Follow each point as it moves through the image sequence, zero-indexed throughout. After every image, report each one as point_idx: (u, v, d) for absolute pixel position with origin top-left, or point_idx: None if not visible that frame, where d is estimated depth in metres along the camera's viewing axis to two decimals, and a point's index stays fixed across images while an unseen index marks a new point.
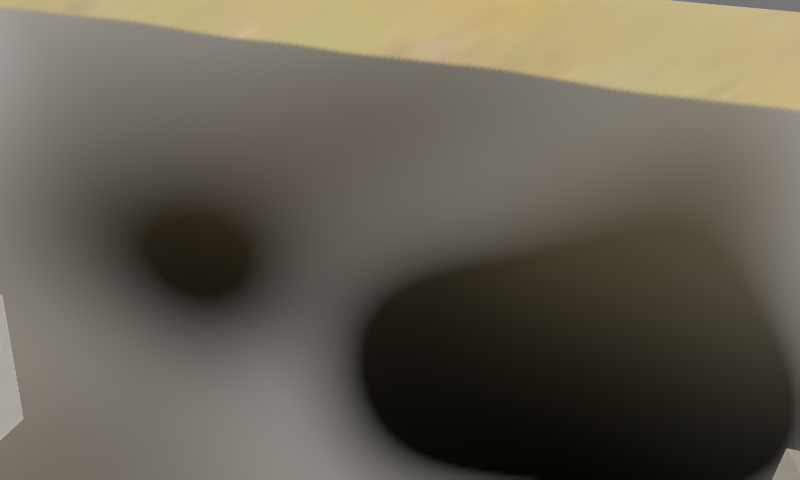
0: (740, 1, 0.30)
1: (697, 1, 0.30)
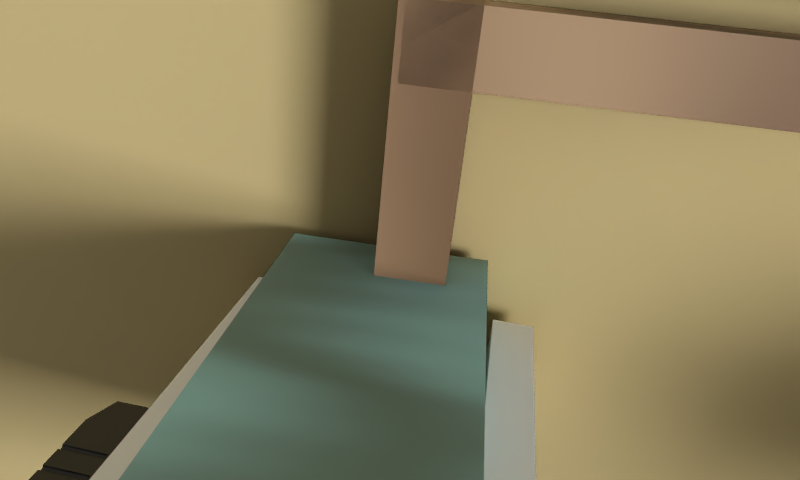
0: None
1: None
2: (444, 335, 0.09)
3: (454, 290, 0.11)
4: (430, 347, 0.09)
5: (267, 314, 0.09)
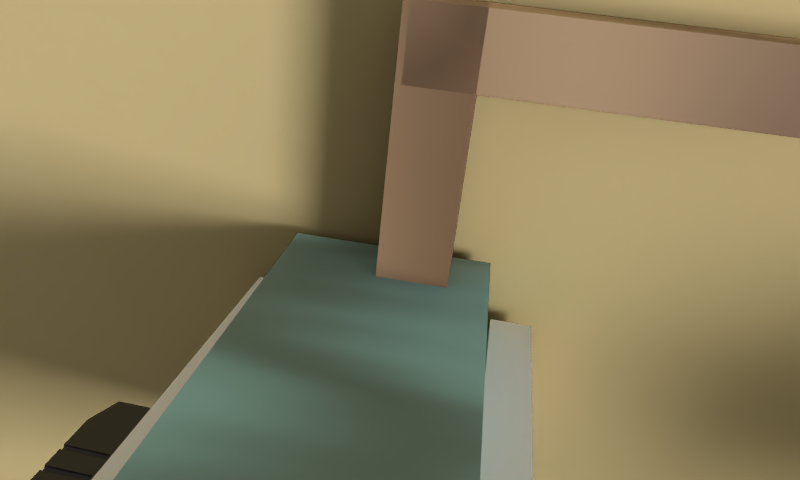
0: None
1: None
2: (445, 337, 0.09)
3: (456, 292, 0.11)
4: (429, 349, 0.09)
5: (268, 314, 0.09)
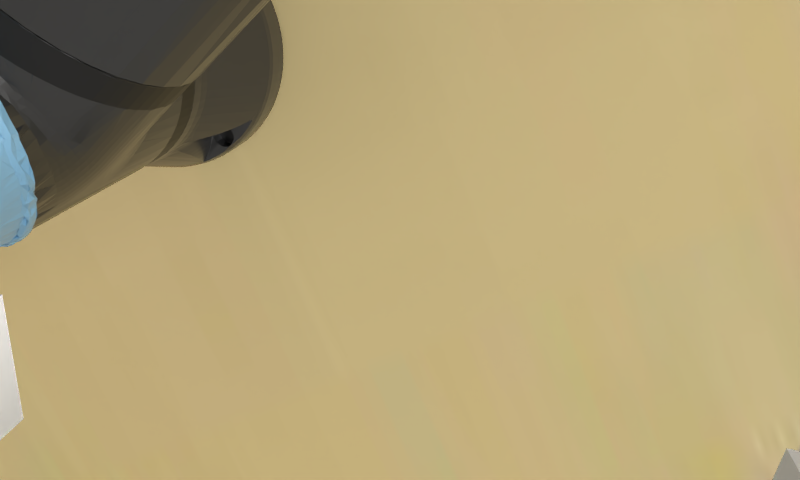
0: None
1: None
2: None
3: None
4: None
5: None
